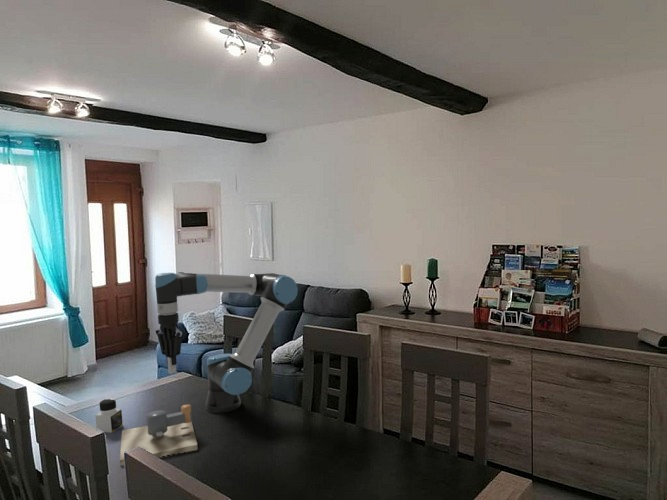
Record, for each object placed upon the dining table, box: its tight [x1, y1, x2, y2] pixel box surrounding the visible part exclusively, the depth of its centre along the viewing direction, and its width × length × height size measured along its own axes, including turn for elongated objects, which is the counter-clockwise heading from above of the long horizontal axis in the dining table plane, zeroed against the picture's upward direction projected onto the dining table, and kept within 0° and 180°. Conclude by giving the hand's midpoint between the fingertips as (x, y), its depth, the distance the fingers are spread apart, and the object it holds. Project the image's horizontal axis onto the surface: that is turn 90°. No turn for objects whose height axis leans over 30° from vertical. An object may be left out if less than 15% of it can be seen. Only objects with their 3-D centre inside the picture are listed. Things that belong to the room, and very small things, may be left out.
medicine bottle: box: [95, 398, 124, 434], centre depth 204 cm, size 7×7×12 cm
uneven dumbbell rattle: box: [146, 403, 193, 436], centre depth 192 cm, size 10×16×7 cm, turn 118°
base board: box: [119, 421, 198, 467], centre depth 190 cm, size 26×26×4 cm
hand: (172, 372), depth 196 cm, fingers closed
